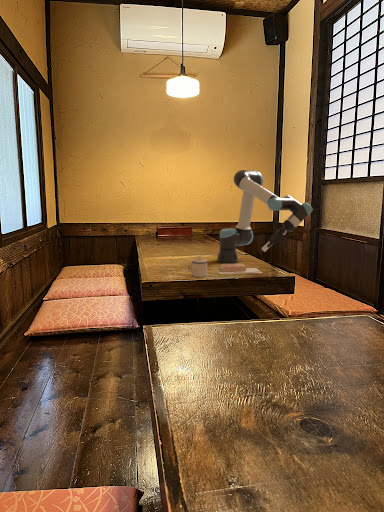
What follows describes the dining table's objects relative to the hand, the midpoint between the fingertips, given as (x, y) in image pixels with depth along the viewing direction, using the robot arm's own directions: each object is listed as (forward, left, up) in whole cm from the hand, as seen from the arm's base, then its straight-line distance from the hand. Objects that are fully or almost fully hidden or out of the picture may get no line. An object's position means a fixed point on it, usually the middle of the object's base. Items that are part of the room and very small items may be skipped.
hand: (263, 250), depth 225 cm
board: (0, -16, -13) cm, 21 cm away
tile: (0, -11, -11) cm, 16 cm away
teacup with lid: (+10, -42, -14) cm, 45 cm away
